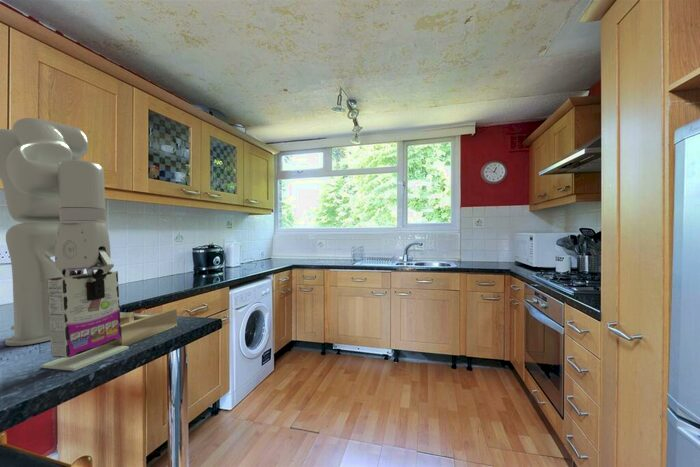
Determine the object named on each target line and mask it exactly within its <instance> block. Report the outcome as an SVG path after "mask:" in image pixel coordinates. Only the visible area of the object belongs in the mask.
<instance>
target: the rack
mask: <svg viewBox="0 0 700 467" xmlns="http://www.w3.org/2000/svg"><path fill="white" fill-rule="evenodd" d="M177 319H178V312H177V308H171V309H168V310H164V311H160V312H158V313H155V314H134V320H136V321H132V322H129V323H126V324H123V325H121V338H120V339H118V340H115V341H112V342H110V343H107V344H105V345H117V346H130V345H133V344H135V343H137V342H140V341H143V340H145V339H148V338H150V337H152V336H155V335H158V334H160V333H163V332H166V331H168V330H171V329H173V328H176V327H178V320H177ZM175 326H176V327H175Z"/></svg>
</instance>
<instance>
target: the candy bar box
mask: <svg viewBox="0 0 700 467" xmlns="http://www.w3.org/2000/svg"><path fill="white" fill-rule="evenodd" d="M95 273H96V271H94V274H95ZM87 282H90V281H89V278H88V274H87V272H85V273H83V274H78V275H71V276H64V277H57V278H50V279H47V284H48V301H49V319H50V338H51V340H50V352H51V357H52V358H70V357H73V356H75V355H78V354H81V353H83V352H86V351H89V350H91V349H94V348H97V347H99V346H102V345H105V344H107V343H110V342H112V341H115V340H118V339H120V338H121V324H120V314H121V311H120V310H121V308H120V292H119V291H120V289H119V288H120V287H119V273H118V270H110V271H109V273H108V274H107V276H106V280H104V286H105V297H104V298H101V299H97V300H92V301H88V300H87Z"/></svg>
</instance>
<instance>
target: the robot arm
mask: <svg viewBox="0 0 700 467" xmlns="http://www.w3.org/2000/svg"><path fill="white" fill-rule="evenodd" d="M88 150H89V140H88V136H87V134H85V132H84V131H82V130H81V129H80V128H78V127H75V126H71V125H67V124H62V123H59V122H54V121H50V120H46V119H42V118H36V117H35V118H34V117H24V118H20V119H18V120H16V121H15V122H14V123H13V125H12V129H7V128H0V180H1V183H2V187H3V192H4V197H5V202H6V206H7V211H8V212H9V215H10V217H11V218H12V219H13V220H14V221H15V222H17V223H18V224H14V225H12V226H11V227H9V228H8V229H7V231H6V234H5V242H6V243H5V244H6V246H7V251H8V255H9V257H10V263H11V272H12V274H11V275H12V276H11V277H12V301H13V302H12V304H13V325H12V326H11V327H10V330H11V331H13V333H14V335H12V336H10V337H8V338H6V340H5V345H6V346H9V347H19V346H20V347H22V346H28V345H29V346H30V345H35V344H39V343H44V342H49V341H50V342H51V338H50V319H49V301H48V284H47V279H50V278H57V277H64V276H71V275H78V274H84V270H86V273H87V274H88V278H89V281H90V282H87V300H88V301H92V300H97V299H101V298H104V297H105V286H104V280H106V276H107V274H108V273H109V271H112V269H113V268H114V266H115V265H114V262H113V261H112V258H111V244H110V243H111V242H110V237H109V231H108V227H107V220H106V219H107V218H106V217H107V216H106V191H105V170H104V168H103V167H102V165H100V164H99V163H97V162H92V161H87V160H81V159H83V158H84V157H85V156H86V154H87V153H88ZM53 257H54V260H53V259H52V258H53ZM94 272H96V273H95V274H94Z"/></svg>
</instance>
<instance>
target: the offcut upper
mask: <svg viewBox="0 0 700 467" xmlns="http://www.w3.org/2000/svg"><path fill="white" fill-rule="evenodd" d="M134 313H135V312H134V311H131V312H123V313H120V324H121V325H123V324H126V323H129V322H132V321H134V315H135V314H134Z"/></svg>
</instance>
